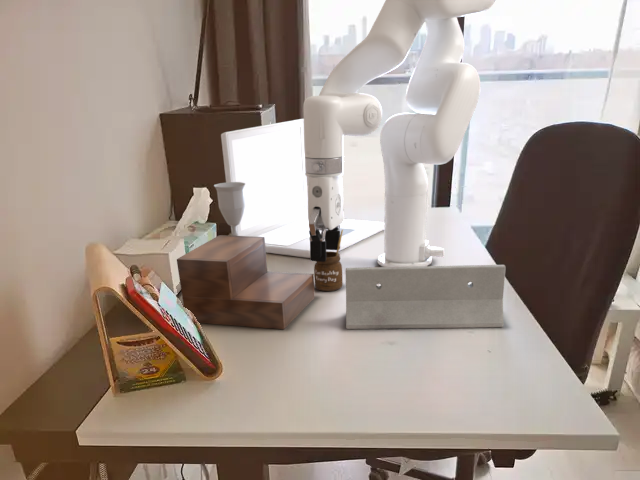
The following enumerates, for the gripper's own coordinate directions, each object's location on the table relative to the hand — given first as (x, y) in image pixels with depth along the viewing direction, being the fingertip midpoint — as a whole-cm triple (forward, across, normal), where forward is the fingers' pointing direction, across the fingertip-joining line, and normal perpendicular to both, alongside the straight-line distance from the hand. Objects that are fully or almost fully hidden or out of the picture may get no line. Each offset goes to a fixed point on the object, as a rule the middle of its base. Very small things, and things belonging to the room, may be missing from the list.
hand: (325, 255), depth 134 cm
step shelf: (+8, -15, +10) cm, 20 cm away
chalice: (+7, +16, +28) cm, 33 cm away
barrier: (+7, -15, -23) cm, 29 cm away
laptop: (+6, +41, +16) cm, 44 cm away
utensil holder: (+7, +1, 0) cm, 7 cm away
